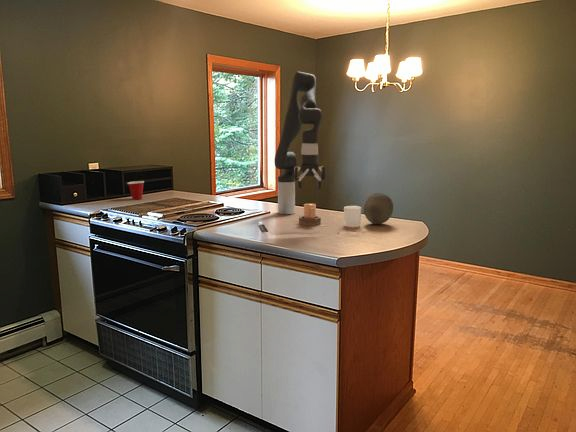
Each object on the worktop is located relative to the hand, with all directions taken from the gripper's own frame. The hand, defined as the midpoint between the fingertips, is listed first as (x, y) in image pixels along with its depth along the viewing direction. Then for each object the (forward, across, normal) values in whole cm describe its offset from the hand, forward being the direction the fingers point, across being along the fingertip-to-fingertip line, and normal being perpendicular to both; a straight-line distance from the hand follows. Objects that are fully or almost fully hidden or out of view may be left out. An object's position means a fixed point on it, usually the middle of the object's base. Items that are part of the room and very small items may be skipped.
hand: (309, 189), depth 211 cm
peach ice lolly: (+16, -1, +2) cm, 16 cm away
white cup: (+18, -18, +8) cm, 27 cm away
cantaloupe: (+18, -34, +1) cm, 38 cm away
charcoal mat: (+18, +16, 0) cm, 24 cm away
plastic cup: (+20, +93, -113) cm, 148 cm away
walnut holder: (+18, 0, 0) cm, 18 cm away
